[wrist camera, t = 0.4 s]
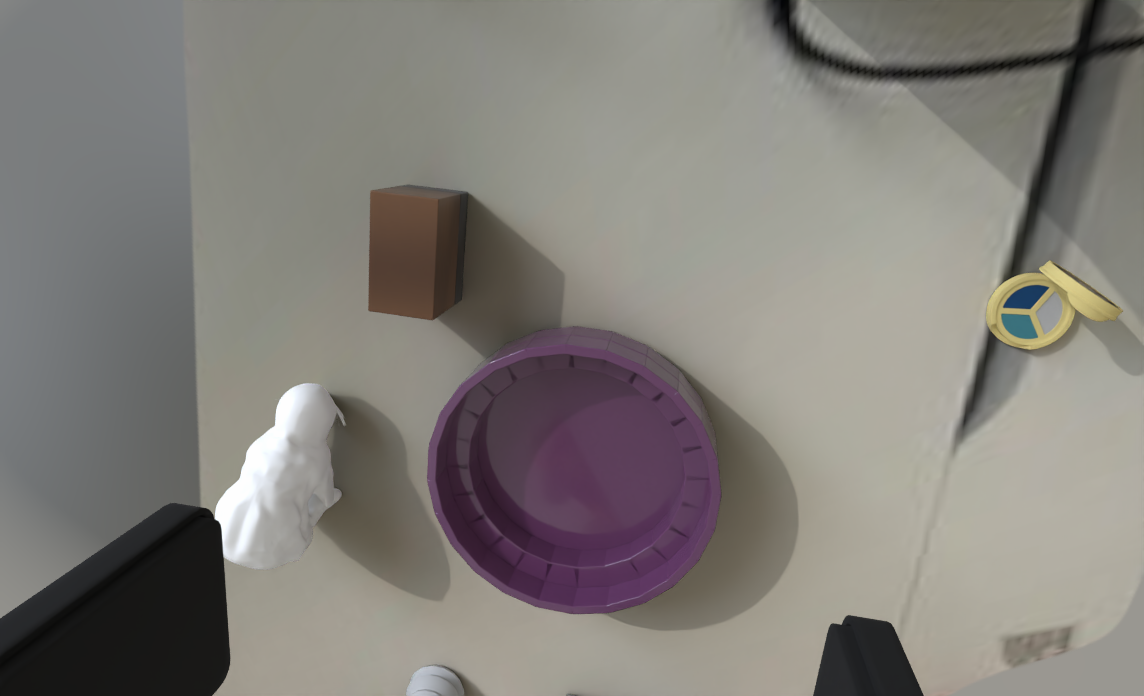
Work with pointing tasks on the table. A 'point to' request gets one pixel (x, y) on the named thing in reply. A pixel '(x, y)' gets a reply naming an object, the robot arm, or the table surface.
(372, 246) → the brown rectangular block
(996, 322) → the eyeshadow
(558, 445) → the bowl
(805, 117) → the table surface
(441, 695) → the rook chess piece
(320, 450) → the white lumpy piece
